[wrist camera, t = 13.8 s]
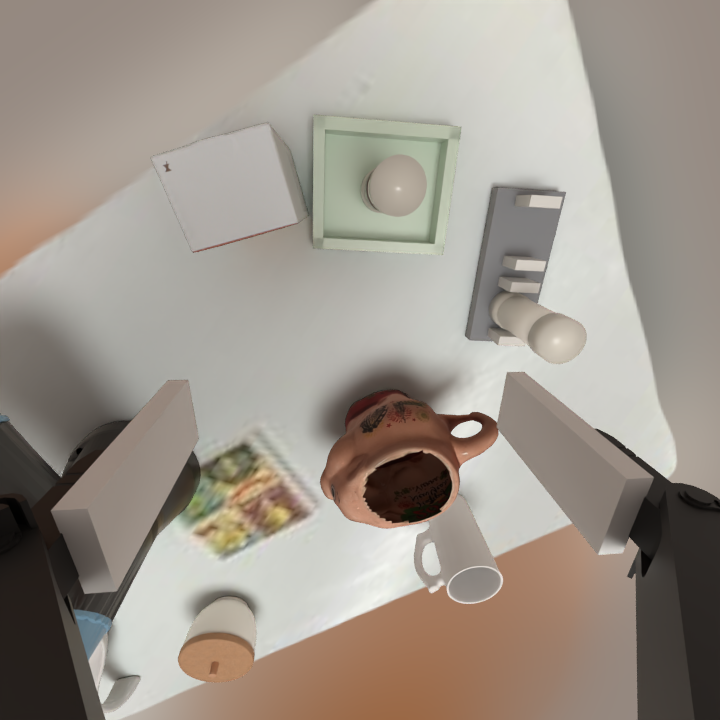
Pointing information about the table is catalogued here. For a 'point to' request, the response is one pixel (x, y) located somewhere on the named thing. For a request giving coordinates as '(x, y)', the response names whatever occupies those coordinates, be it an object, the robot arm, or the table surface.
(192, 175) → the small box
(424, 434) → the decorative planter
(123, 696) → the grey curved piece
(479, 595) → the mug
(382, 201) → the light bulb
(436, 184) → the parts tray
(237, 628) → the lidded jar
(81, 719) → the robot arm
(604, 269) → the table surface
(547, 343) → the holder
